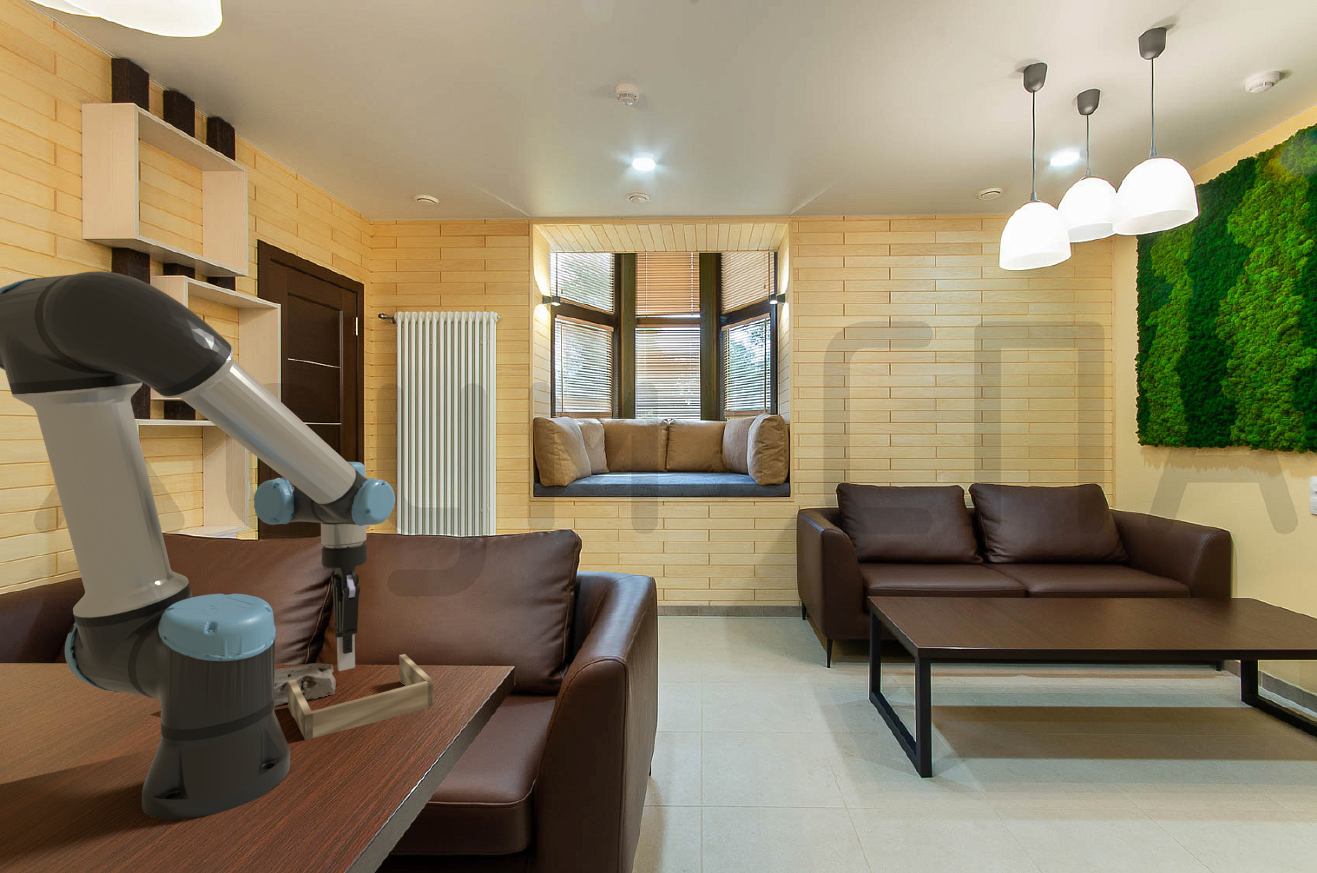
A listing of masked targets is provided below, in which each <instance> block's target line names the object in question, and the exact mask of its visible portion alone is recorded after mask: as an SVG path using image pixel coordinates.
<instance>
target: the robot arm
mask: <svg viewBox="0 0 1317 873" xmlns="http://www.w3.org/2000/svg"><path fill="white" fill-rule="evenodd" d="M233 354H234V349H233V346H232V345H231V344H230V342H228V341H227V340H226V339H225V338H224V337H223V336H222V335H221V334H219V333H218V331H216V330H215V329H214V328H213V327H212V326H211V325H210V324H209V323H207V322H206V321H205V320H203V319H202V318H201V317H200V316H198V315H197V313H195V312H193V311H192V309H189V308H188V307H186V306H185V305H184V304H182V302H180V301H178V300H177V299H176V298H174V297H172V296H170V295H169V294H167V293H166V292H164V291H162V290H160V289H159V288H157V287H155V286H154V285H152V284H149V283H147V282H146V281H143V280H141V279H138V278H136V277H132V276H129V275H125V274H122V273H117V272H110V271H103V270H102V271H100V270H99V271H85V272H79V273H73V274H65V275H63V274H62V275H55V276H43V277H33V278H32V277H31V278H27V279H23V280H18V281H15V282H13V283H10V284H7V285H4V286H2V287H0V369H1V370H3V371H5V375H6V378H7V383H8V385H9V388H10V392H11V396H12V398H14V399H16V400H18V401H20V402H22V403H25V404H26V405H28V406H29V407H32V408H33V409H34V411H35V413H36V416H37V420H38V424H39V427H40V431H41V435H42V438H43V442H44V446H45V450H46V453H47V457H48V460H49V463H50V468H51V471H52V474H53V479H54V483H55V486H56V490H57V494H58V497H59V501H60V503H61V504H60V506H61V508H62V511H63V515H64V518H65V519H64V520H65V522H66V526H67V530H68V533H69V537H70V541H71V545H72V547H73V548H72V549H73V551H74V555H75V556H74V557H75V559H76V563H77V567H78V570H79V573H80V577H81V581H82V585H83V588H84V594H83V596H82V597H81V598H80V600H78V602H77V603H76V604H75V605H74V606H73V608H72V611H73V612H72V613H73V617H74V621H75V622H74V624H73V628H72V630H71V632H69V633H67V637H66V640H65V645H64V657H65V661H66V663H67V664H66V665H68V666H67V667H68V668H69V670H70V671H71V672H72V674H74V675H75V676H76V677H77V678H78V679H79V680H81V681H82V682H84V683H86V684H89V685H91V686H93V687H95V688H98V689H100V690H103V691H110V692H113V693H125V694H130V695H136V696H142V697H147V698H151V699H157V700H160V741H159V743H158V746H157V749H156V752H155V754H154V756H153V759H152V761H151V764H150V767H149V770H148V772H147V775H146V777H145V780H144V783H143V785H142V790H141V809H143V810H142V812H143V811H144V812H145V813H146V815H147V814H148V815H150V816H152V817H151V818H153V817H155V818H154V819H157V818H158V820H164V819H166V821H169V820H170V821H177V820H178V821H179V820H180V821H181V820H188V819H189V820H191V819H197V818H202V817H207V816H211V815H215V814H216V815H217V814H220V813H222V812H223V813H224V812H225V811H226V812H227V811H230V810H232V809H236V808H239V807H241V806H243V805H246V804H248V803H251V802H252V801H254V800H256V799H258V798H261V797H262V796H264V795H265V794H267V793H268V792H270V791H271V790H272V789H274V788H275V787H276V786H278V785H279V784H280V783H281V782H282V781H283V780H284V779H285V778H286V777H287V775H288V773H289V771H290V767H291V750H290V747H289V746H290V745H289V744H288V740H287V739H286V736H285V734H284V731H283V730H282V727H281V725H280V722H279V720H278V718H277V715H276V713H275V707H274V677H275V669H276V668H275V666H276V664H275V662H276V660H275V659H276V656H275V655H276V649H275V648H276V635H277V634H276V633H277V630H276V626H275V619H274V612H273V611H274V610H273V608H272V606H271V605H270V604H269V603H268V602H267V601H266V600H264V599H262V598H260V597H257V596H254V595H250V594H243V593H231V594H224V593H211V594H204V595H198V596H194V597H193V594H192V590H191V586H190V582H189V579H188V577H187V576H185V575H183V574H181V573H178V572H176V571H173V569H171V565H170V561H169V557H168V556H169V555H168V552H167V547H166V544H165V540H164V536H163V535H164V534H163V530H162V527H161V526H162V525H161V522H160V518H159V514H158V510H157V506H156V502H155V498H154V493H153V490H152V485H151V481H150V476H149V474H148V468H147V465H146V460H145V456H144V452H143V448H142V444H141V438H140V434H139V431H138V427H137V422H136V419H135V414H134V410H133V405H132V401H131V399H132V397H133V396H134V395H135V394H136V392H138V390H139V389H140V388H141V387H142V386H143V384H145V385H147V386H148V387H149V388H151V389H152V390H154V391H155V392H157V393H158V394H159V395H160V396H161V397H164V398H167V399H177V398H179V399H181V401H184V402H185V403H186V404H188V405H189V407H191V408H193V409H194V410H195V411H197V412H198V413H199V414H200V415H202V417H204V418H206V419H207V420H208V421H209V422H211V423H212V424H213V425H215V426H216V427H217V428H218V429H220V430H221V431H223V432H224V433H225V434H226V435H228V436H229V437H230V438H232V439H233V440H234V441H236V442H237V443H238V444H239V445H241V446H242V447H244V449H246V450H247V451H248V452H250V454H253V455H254V456H255V457H256V458H258V459H259V460H260V461H261V462H263V463H264V464H266V465H267V466H268V467H270V468H271V469H272V470H274V472H276V473H277V474H279V475H280V476H281V477H279V478H275V479H269V480H265V481H263V482H262V483H260V484H259V486H258V487H257V488H256V490H255V493H254V495H253V508H254V512H255V514H256V516H257V517H258V518H259V520H261V522H263V523H265V524H267V525H281V524H283V525H287V524H290V523H294V522H295V523H296V522H303V523H304V522H305V523H307V522H308V523H319V524H320V541H321V542H320V543H321V544H322V545H323V547H322V548H321V566H322V567H323V568H326V569H334V574H331V575H330V576H331V577H330V581H331V584H332V585H331V586H332V600H333V616H334V617H333V618H334V623H333V625H334V627H335V628H336V629H335V632H336V633H335V634H334V637H335V639H336V642H337V643H336V652H337V654H336V655H337V656H336V657H337V659H336V660H337V661H336V662H337V667H336V668H337V670H338V671H339V672H342V671H347V670H350V669H355V668H356V649H355V648H356V645H355V644H356V642H355V636H356V634H358V632H359V630H358V623H359V622H358V620H359V598H360V591H361V586H360V585H358V584H359V582H360V580H359V579H360V578H359V574H358V573H357V574H356V567H357V566H361V565H363V564H365V563H366V562H367V560H368V544H366V540H367V530H368V529H370V526H371V525H372V526H373V525H374V526H376V525H380V524H382V523H384V522H385V521H386V520H388V518H389V517H390V516H391V514H392V512H393V510H394V508H395V504H396V496H395V492H394V489H393V487H392V486H391V484H389V482H387V481H385V480H383V479H377V478H375V477H370V478H367V475H366V466H365V464H363V463H362V462H358V461H346V459H344V458H343V456H341V455H340V454H339V453H338V452H336V450H334V449H333V447H331V446H330V445H329V444H328V443H327V442H325V440H323V439H322V438H321V437H320V436H319V435H318V434H317V433H316V432H314V430H313V429H311V428H310V427H309V426H308V425H307V424H306V423H305V422H303V421H302V420H301V419H300V417H298V416H297V415H296V414H295V413H294V412H293V411H291V410H290V409H289V408H288V407H287V406H286V405H285V404H284V403H283V402H281V401H280V400H279V399H278V398H277V397H276V396H275V395H274V394H273V393H272V392H270V391H269V390H268V389H267V388H266V387H265V386H264V385H263V384H262V383H261V382H260V381H259V380H258V379H256V378H255V377H254V376H253V375H252V374H251V372H250V373H249V372H248V370H246V369H245V368H244V367H243V366H242V365H241V364H240V363H239V362H237V361H236V359H234V358H233V357H234V356H233ZM144 812H143V813H144ZM145 813H144V814H145ZM148 815H147V816H148ZM150 816H149V817H150ZM159 818H160V819H159Z"/></svg>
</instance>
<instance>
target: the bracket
mask: <svg viewBox="0 0 1317 873" xmlns="http://www.w3.org/2000/svg"><path fill="white" fill-rule="evenodd" d="M398 661H399V663H398V664H399V665H398V666H399V667H398V668H399V676H398V678H399V680H400V681H401V682H402V683H403V684H404V685H405V686H401V687H397V688H393V689H390V690H386V691H383V692H379V693H378V692H377V693H375V694H370V695H367V696H363V697H360V698H356V699H353V700H349V701H345V702H341V703H337V704H333V705H330V706H326V707H323V708H319V709H314V710H312V709H311V707H310V706H309V703H308V701H307V699H305V698H304V696H303V694H302V692H301V690H300V688H299V686H298V684H297V682H296V680H291V681H288V703H287V704H288V705H287V707H288V710H289V713H290V714H291V717H293V718H294V720H295V722H296V724H297V727H298V729H299V730H300V732H301V735H302V737H303V738H304V739H303V740H305V741H307V740H311V739H315V738H320V737H323V736H326V735H330V734H334V733H338V732H342V731H347V730H351V729H354V728H359V727H361V726H362V727H363V726H366V725H369V724H373V723H377V722H382V721H385V720H389V719H393V718H397V717H402V716H405V715H407V714H406V713H409V714H412V713H411V712H413V713H416V712H415V711H417V712H419V711H418V710H421V709H424V708H428V707H431V706H434V707H435V681H434V679H432V677H431V676H429V675H428V674H427V673H426V672H425V671H424V670H423V669H422V668H421V667H420V666H418V665H417V664H416V663H415V662H414V660H412V659H411V658H410V657H409V656H408V655H407V654H405V653H403V654H399V659H398ZM421 711H422V710H421ZM404 714H405V715H404Z"/></svg>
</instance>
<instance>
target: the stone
mask: <svg viewBox="0 0 1317 873" xmlns="http://www.w3.org/2000/svg"><path fill="white" fill-rule="evenodd" d="M333 673H334V667H333V664H329V663H314V662H313V663H308V664H307V663H306V664H301V665H298V666H289V667H283V668H277V669H276V668H275V677H274V708H275V707H278V706H281V705H284V704H288V681H291V680H296V682H297V684H298V686H299V688H300V690H301V692H302V694H303V696H304V698H305V700H306V701H308V700H318V699H320V698H319V697H321V698H326V697H325V696H328V695H330V696H332V695H335V693H336V691H335V690H336V685H337V683H336V678H335V677H334V675H333ZM328 697H329V696H328ZM317 698H318V699H317Z"/></svg>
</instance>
